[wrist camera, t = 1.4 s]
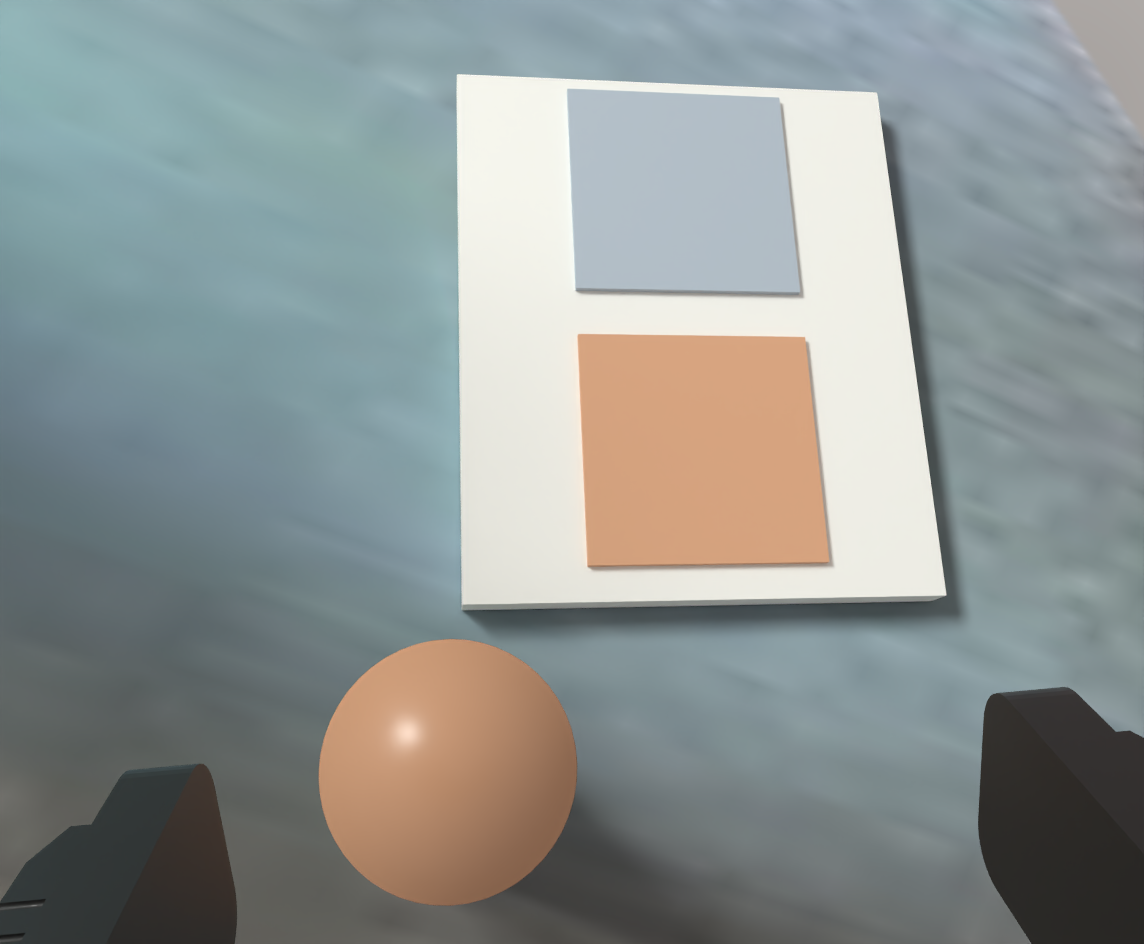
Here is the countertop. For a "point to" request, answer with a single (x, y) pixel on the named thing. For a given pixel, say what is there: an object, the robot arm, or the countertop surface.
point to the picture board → (683, 350)
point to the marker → (447, 772)
